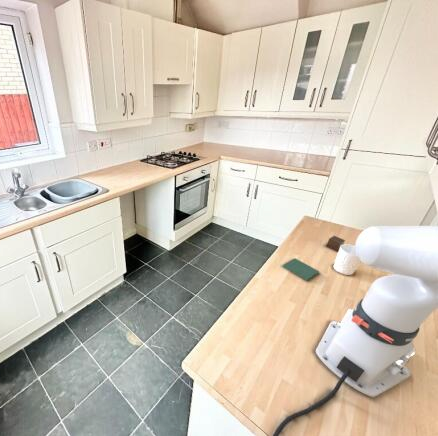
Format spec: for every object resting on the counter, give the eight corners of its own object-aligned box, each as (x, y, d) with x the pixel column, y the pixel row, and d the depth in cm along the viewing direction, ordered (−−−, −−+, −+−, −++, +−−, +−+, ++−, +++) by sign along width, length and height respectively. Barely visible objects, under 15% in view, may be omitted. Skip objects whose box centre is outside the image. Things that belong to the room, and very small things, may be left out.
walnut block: (336, 251, 110) (340, 243, 108) (325, 246, 113) (329, 238, 111) (341, 248, 112) (345, 240, 110) (330, 243, 115) (334, 235, 113)
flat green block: (307, 281, 94) (307, 278, 93) (282, 266, 101) (283, 264, 101) (318, 273, 97) (319, 271, 97) (294, 260, 105) (294, 258, 104)
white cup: (354, 267, 100) (364, 247, 95) (356, 278, 94) (367, 258, 89) (331, 261, 104) (339, 242, 99) (331, 271, 98) (340, 251, 93)
